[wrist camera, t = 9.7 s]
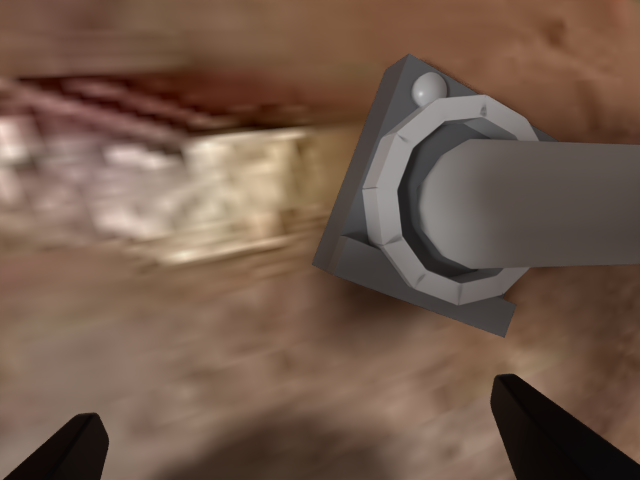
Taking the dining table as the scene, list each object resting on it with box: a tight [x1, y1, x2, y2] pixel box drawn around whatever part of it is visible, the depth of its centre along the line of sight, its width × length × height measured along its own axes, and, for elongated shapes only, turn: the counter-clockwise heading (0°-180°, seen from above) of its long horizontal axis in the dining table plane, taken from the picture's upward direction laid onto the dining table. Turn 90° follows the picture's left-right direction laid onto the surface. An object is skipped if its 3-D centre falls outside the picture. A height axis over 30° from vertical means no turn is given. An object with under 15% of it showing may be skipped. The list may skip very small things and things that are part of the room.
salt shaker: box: [416, 139, 640, 269], centre depth 15 cm, size 6×6×13 cm
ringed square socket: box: [312, 54, 559, 338], centre depth 21 cm, size 11×10×4 cm
